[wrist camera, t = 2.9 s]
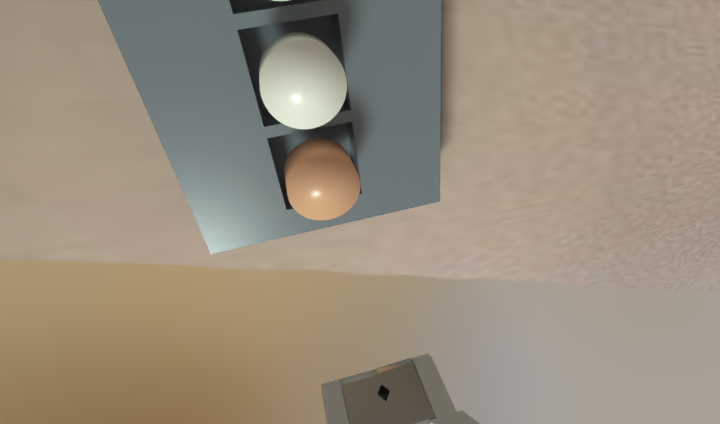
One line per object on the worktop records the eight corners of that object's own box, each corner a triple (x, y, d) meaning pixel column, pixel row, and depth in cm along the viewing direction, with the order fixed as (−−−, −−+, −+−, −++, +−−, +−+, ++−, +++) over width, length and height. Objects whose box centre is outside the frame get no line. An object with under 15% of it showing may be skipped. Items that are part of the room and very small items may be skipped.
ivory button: (331, 25, 17) (340, 33, 15) (342, 105, 19) (352, 120, 17) (249, 39, 16) (248, 49, 15) (270, 119, 19) (271, 136, 17)
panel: (413, -195, 16) (442, -222, 14) (422, 178, 26) (439, 201, 24) (56, -160, 14) (15, -184, 12) (215, 224, 25) (211, 253, 22)
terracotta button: (346, 131, 20) (355, 149, 18) (355, 190, 22) (364, 211, 20) (277, 145, 19) (279, 165, 18) (292, 204, 21) (295, 227, 20)
